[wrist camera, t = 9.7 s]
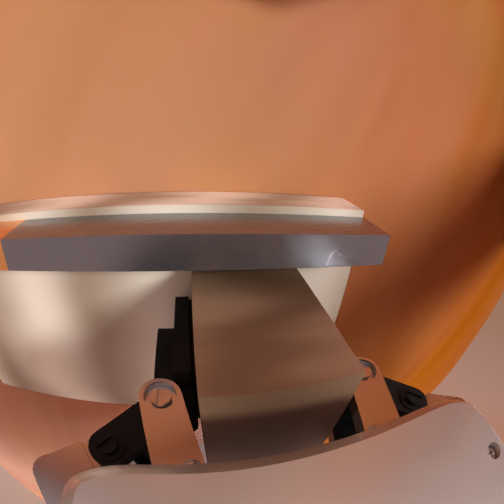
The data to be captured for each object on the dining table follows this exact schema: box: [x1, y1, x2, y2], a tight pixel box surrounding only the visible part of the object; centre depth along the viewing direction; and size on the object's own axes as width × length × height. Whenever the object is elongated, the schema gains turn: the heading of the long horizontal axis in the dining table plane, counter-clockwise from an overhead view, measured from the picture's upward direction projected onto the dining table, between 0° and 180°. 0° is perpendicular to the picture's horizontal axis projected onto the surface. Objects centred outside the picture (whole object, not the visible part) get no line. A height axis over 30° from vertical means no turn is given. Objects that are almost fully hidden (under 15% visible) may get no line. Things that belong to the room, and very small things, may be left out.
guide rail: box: [0, 213, 390, 272], centre depth 8 cm, size 22×1×2 cm, turn 85°
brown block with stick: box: [191, 268, 366, 463], centre depth 10 cm, size 4×10×6 cm, turn 176°
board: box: [0, 192, 364, 405], centre depth 12 cm, size 22×12×2 cm, turn 85°
